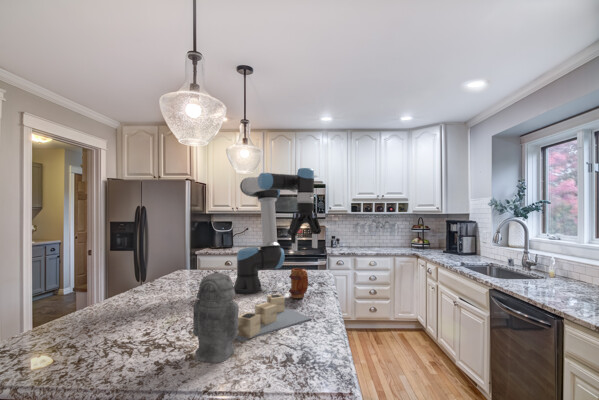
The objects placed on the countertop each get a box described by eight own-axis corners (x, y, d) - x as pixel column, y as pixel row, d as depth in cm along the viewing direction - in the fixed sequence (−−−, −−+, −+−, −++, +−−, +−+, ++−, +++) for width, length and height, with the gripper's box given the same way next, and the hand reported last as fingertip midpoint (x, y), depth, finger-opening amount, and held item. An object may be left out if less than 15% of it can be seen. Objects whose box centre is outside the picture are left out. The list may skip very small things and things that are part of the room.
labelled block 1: (236, 334, 101) (236, 316, 101) (246, 328, 106) (246, 311, 106) (250, 338, 98) (250, 319, 98) (260, 331, 103) (260, 313, 104)
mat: (215, 323, 112) (215, 322, 112) (282, 307, 132) (282, 305, 132) (239, 341, 96) (239, 339, 96) (311, 319, 117) (311, 318, 117)
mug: (286, 296, 150) (286, 266, 150) (300, 294, 153) (300, 265, 154) (298, 304, 136) (298, 272, 137) (313, 301, 140) (313, 270, 140)
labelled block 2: (266, 309, 128) (266, 294, 128) (279, 307, 130) (279, 293, 130) (271, 313, 122) (271, 298, 122) (284, 311, 124) (284, 296, 125)
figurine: (202, 344, 94) (203, 267, 95) (242, 349, 91) (243, 269, 92) (184, 359, 85) (185, 273, 86) (228, 365, 82) (229, 276, 83)
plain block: (255, 321, 113) (255, 305, 114) (266, 317, 118) (266, 302, 118) (265, 325, 109) (265, 309, 110) (276, 320, 114) (276, 305, 114)
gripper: (292, 201, 120) (291, 253, 119) (328, 202, 138) (328, 247, 137) (279, 201, 125) (279, 251, 124) (316, 203, 143) (316, 246, 142)
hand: (305, 249), depth 131 cm, fingers open, 13 cm apart
